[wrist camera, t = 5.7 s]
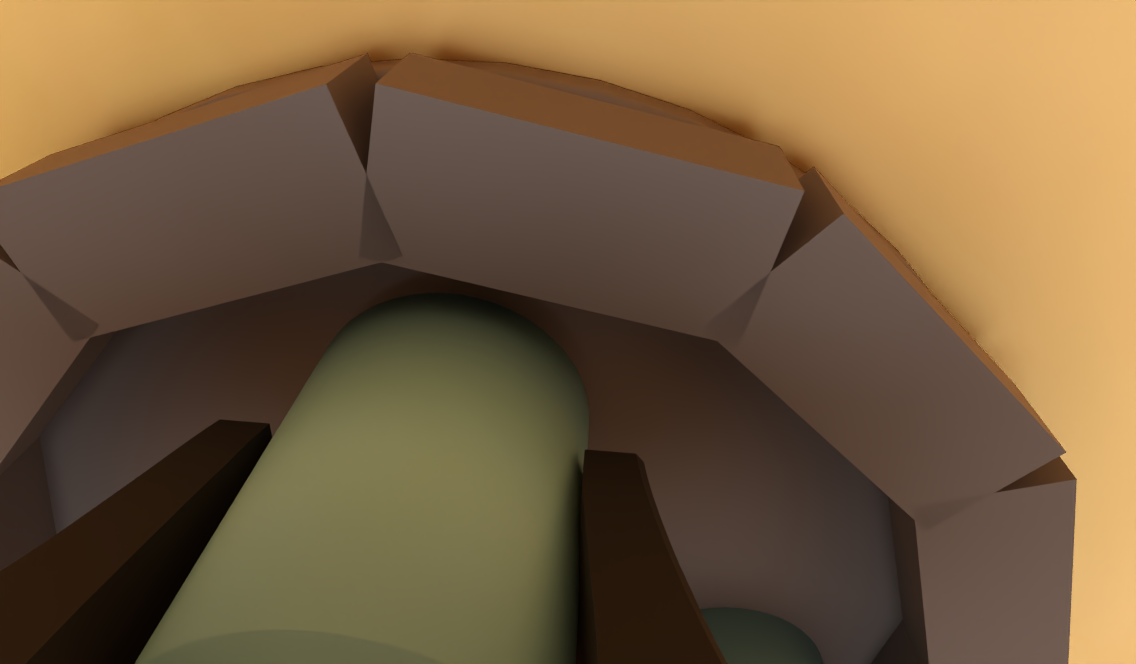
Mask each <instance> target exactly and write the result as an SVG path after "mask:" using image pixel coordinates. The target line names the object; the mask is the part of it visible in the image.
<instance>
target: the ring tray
mask: <svg viewBox="0 0 1136 664" xmlns="http://www.w3.org/2000/svg"><path fill="white" fill-rule="evenodd" d="M423 293H452V294H459V295H466V296H472V297H476V298H480V299H483V300H487V301H491V302H493V303H496V304H498V305H501V306H503V307H506V308H509V309H510V310H512V311H514V312H516V313H518V314H520V315H522V316H524V317H526V318H527V319H529V320H530V321H531V322H533V323H534V324H536V325H537V326H539V327H540V328H542V329H543V330H544V331H545V332H546V333H547V334H548V335H549V336H551V337H552V338H553V339H554V340H555V341H556V342H557V343H558V344H559V346H560V347H561V348H562V349H563V350H564V351H565V352H566V353H567V355H568V356H569V358H570V359H571V361H572V362H573V364H574V365H575V367H576V369H577V371H578V373H579V375H580V377H581V379H582V381H583V384H584V388H585V391H586V394H587V399H588V406H589V434H588V450H599V451H611V452H623V453H636V454H637V455H638V456H639V457H640V458H641V459H642V460H643V462H644V464H645V469H646V473H647V477H648V481H649V484H650V488H651V491H652V494H653V497H654V500H655V503H656V506H657V509H658V512H659V514H660V517H661V520H662V522H663V525H664V528H665V530H666V533H667V535H668V538H669V541H670V543H671V546H672V548H673V550H674V553H675V555H676V557H677V560H678V562H679V565H680V567H681V569H682V571H683V573H684V575H685V578H686V580H687V582H688V584H689V586H690V588H691V591H692V593H693V595H694V597H695V599H696V602H697V604H698V606H699V608H700V609H706V608H720V607H731V608H744V609H750V610H756V611H760V612H764V613H768V614H771V615H774V616H776V617H779V618H782V619H784V620H786V621H788V622H790V623H792V624H793V625H795V626H796V627H798V628H799V629H801V630H802V631H803V632H804V633H805V634H807V635H808V636H809V637H810V638H811V640H812V641H813V642H814V643H815V644H816V646H817V648H818V650H819V652H820V654H821V657H822V660H823V664H1068V657H1069V635H1070V613H1071V591H1072V569H1073V547H1074V525H1075V502H1076V480H1077V479H1076V478H1075V477H1074V475H1073V474H1072V473H1071V471H1070V470H1069V469H1068V467H1067V466H1066V464H1065V463H1064V462H1063V460H1062V459H1061V458H1060V456H1061V455H1062V454H1064V453H1066V451H1065V450H1064V449H1063V447H1062V446H1061V445H1060V443H1059V442H1058V441H1057V439H1056V438H1055V437H1054V436H1053V434H1052V433H1051V432H1050V430H1049V429H1048V428H1047V426H1046V425H1045V424H1044V422H1043V421H1042V420H1041V418H1040V417H1039V416H1038V414H1037V413H1036V412H1035V411H1034V409H1033V408H1032V407H1031V405H1030V404H1029V403H1028V401H1027V400H1026V399H1025V397H1024V396H1023V395H1022V393H1021V392H1020V391H1019V389H1018V388H1017V387H1016V386H1015V384H1014V383H1013V382H1012V381H1011V380H1010V379H1009V378H1008V376H1007V375H1006V374H1005V373H1004V372H1003V371H1002V370H1001V369H1000V368H999V367H998V366H997V365H996V363H995V362H994V361H993V360H992V359H991V358H990V357H989V356H988V355H987V354H986V353H985V352H984V350H983V349H982V348H981V347H980V346H979V345H978V344H977V343H976V342H975V341H974V340H973V339H972V337H971V336H970V335H969V334H968V333H967V332H966V331H965V330H964V329H963V328H962V327H961V326H960V324H959V323H958V322H957V321H956V320H955V319H954V318H953V317H952V316H951V315H950V314H949V313H948V311H947V310H946V309H945V308H944V307H943V306H942V305H941V304H940V303H939V302H938V301H937V300H936V298H935V297H934V296H933V295H932V294H931V292H930V291H929V290H928V289H927V287H926V286H925V285H924V283H923V282H922V281H921V280H920V278H919V277H918V276H917V274H916V273H915V272H914V271H913V269H912V268H911V267H910V265H909V264H908V263H907V262H906V260H905V259H904V258H903V257H902V255H901V254H900V253H899V251H898V250H897V249H896V248H895V247H894V246H892V245H891V244H890V243H889V242H888V241H887V240H886V239H885V238H884V237H883V236H882V235H881V234H880V233H878V232H877V231H876V230H875V229H874V228H873V227H872V226H871V225H870V224H869V223H868V222H867V221H865V220H864V219H863V218H862V217H861V216H860V215H859V214H858V213H857V212H856V211H855V210H854V209H853V208H852V207H851V206H850V205H849V204H848V203H847V202H846V201H845V200H844V199H843V198H842V197H841V196H840V194H839V193H838V192H837V191H836V190H835V189H834V188H833V187H832V186H831V185H830V184H829V183H828V181H827V180H826V179H825V178H824V177H823V176H822V175H821V174H820V173H819V172H818V171H817V170H816V168H815V167H812V168H811V169H810V170H809V171H808V172H806V173H804V172H803V171H801V170H800V169H798V168H797V167H795V166H794V165H792V164H791V163H789V162H788V161H787V159H786V157H785V155H784V154H783V152H782V150H781V148H780V147H779V146H775V145H772V144H768V143H764V142H760V141H756V140H752V139H748V138H746V137H744V136H742V135H740V134H738V133H736V132H734V131H732V130H730V129H728V128H725V127H723V126H721V125H719V124H717V123H715V122H713V121H711V120H709V119H707V118H705V117H703V116H701V115H699V114H697V113H695V112H693V111H691V110H689V109H685V108H682V107H679V106H676V105H673V104H670V103H667V102H664V101H661V100H658V99H655V98H652V97H649V96H646V95H643V94H640V93H637V92H634V91H631V90H628V89H625V88H622V87H619V86H616V85H613V84H610V83H607V82H604V81H601V80H595V79H590V78H585V77H579V76H574V75H569V74H563V73H558V72H553V71H547V70H542V69H536V68H531V67H526V66H520V65H515V64H510V63H498V62H478V61H458V60H438V59H434V58H430V57H426V56H422V55H418V54H414V53H409V54H408V55H407V56H406V57H405V58H404V59H398V60H386V61H375V62H371V60H370V58H369V55H368V53H367V54H364V55H361V56H358V57H354V58H351V59H348V60H345V61H342V62H339V63H336V64H333V65H329V66H320V67H316V68H312V69H308V70H303V71H299V72H295V73H291V74H287V75H283V76H278V77H274V78H270V79H266V80H262V81H257V82H253V83H249V84H245V85H241V86H237V87H234V88H231V89H229V90H227V91H224V92H222V93H219V94H217V95H214V96H212V97H210V98H207V99H205V100H202V101H200V102H197V103H195V104H193V105H190V106H188V107H185V108H183V109H180V110H178V111H176V112H173V113H171V114H168V115H166V116H163V117H161V118H159V119H157V120H156V121H154V122H151V123H148V124H145V125H142V126H139V127H135V128H132V129H129V130H126V131H123V132H120V133H117V134H114V135H110V136H107V137H104V138H101V139H98V140H95V141H92V142H89V143H85V144H82V145H79V146H76V147H73V148H70V149H67V150H64V151H60V152H57V153H54V154H51V155H49V156H47V157H45V158H43V159H41V160H39V161H37V162H35V163H33V164H31V165H29V166H27V167H25V168H23V169H21V170H19V171H17V172H15V173H13V174H11V175H9V176H7V177H5V178H3V179H1V180H0V571H1V570H3V569H4V568H6V567H7V566H9V565H10V564H12V563H14V562H15V561H17V560H18V559H20V558H21V557H23V556H24V555H26V554H27V553H29V552H30V551H32V550H33V549H35V548H37V547H38V546H40V545H41V544H43V543H44V542H46V541H47V540H49V539H50V538H52V537H53V536H55V535H56V534H58V533H59V532H60V531H62V530H63V529H65V528H66V527H68V526H69V525H70V524H72V523H73V522H75V521H76V520H77V519H79V518H80V517H82V516H83V515H85V514H86V513H87V512H89V511H90V510H92V509H93V508H95V507H96V506H97V505H99V504H100V503H102V502H103V501H104V500H106V499H107V498H109V497H110V496H112V495H113V494H114V493H116V492H117V491H119V490H120V489H122V488H123V487H124V486H126V485H127V484H129V483H130V482H131V481H133V480H134V479H136V478H137V477H138V476H140V475H141V474H142V473H144V472H145V471H147V470H148V469H149V468H151V467H152V466H154V465H155V464H156V463H158V462H159V461H161V460H162V459H163V458H165V457H166V456H167V455H169V454H170V453H172V452H173V451H174V450H176V449H177V448H179V447H180V446H181V445H183V444H184V443H186V442H187V441H189V440H190V439H191V438H193V437H194V436H196V435H197V434H199V433H200V432H201V431H203V430H204V429H206V428H207V427H209V426H210V425H212V424H213V423H215V422H216V421H218V420H220V419H223V420H235V421H247V422H259V423H270V428H271V433H272V437H273V436H274V434H275V433H276V431H277V429H278V428H279V426H280V424H281V423H282V421H283V419H284V418H285V416H286V415H287V413H288V411H289V410H290V408H291V406H292V405H293V403H294V401H295V400H296V398H297V396H298V395H299V393H300V392H301V390H302V388H303V387H304V385H305V383H306V382H307V380H308V378H309V377H310V375H311V374H312V372H313V370H314V369H315V367H316V365H317V364H318V362H319V360H320V359H321V357H322V356H323V354H324V352H325V351H326V349H327V347H328V346H329V344H330V343H331V341H332V340H333V339H334V337H335V336H336V335H337V333H338V332H339V331H340V330H341V329H342V328H343V327H344V326H345V325H346V324H347V323H348V322H349V321H351V320H352V319H354V318H355V317H356V316H358V315H359V314H360V313H362V312H364V311H365V310H367V309H369V308H371V307H373V306H375V305H377V304H380V303H383V302H385V301H388V300H391V299H394V298H398V297H403V296H407V295H412V294H423Z"/></svg>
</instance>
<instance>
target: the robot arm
mask: <svg viewBox="0 0 1136 664" xmlns="http://www.w3.org/2000/svg"><path fill="white" fill-rule="evenodd" d="M271 439H272V433H271V428H270V423H259V422H247V421H235V420H223V419H220V420H218V421H216V422H215V423H213V424H212V425H210V426H209V427H207V428H206V429H204V430H203V431H201V432H200V433H199V434H197V435H196V436H194V437H193V438H191V439H190V440H189V441H187V442H186V443H184V444H183V445H181V446H180V447H179V448H177V449H176V450H174V451H173V452H172V453H170V454H169V455H167V456H166V457H165V458H163V459H162V460H161V461H159V462H158V463H156V464H155V465H154V466H152V467H151V468H149V469H148V470H147V471H145V472H144V473H142V474H141V475H140V476H138V477H137V478H136V479H134V480H133V481H131V482H130V483H129V484H127V485H126V486H124V487H123V488H122V489H120V490H119V491H117V492H116V493H114V494H113V495H112V496H110V497H109V498H107V499H106V500H104V501H103V502H102V503H100V504H99V505H97V506H96V507H95V508H93V509H92V510H90V511H89V512H87V513H86V514H85V515H83V516H82V517H80V518H79V519H77V520H76V521H75V522H73V523H72V524H70V525H69V526H68V527H66V528H65V529H63V530H62V531H60V532H59V533H58V534H56V535H55V536H53V537H52V538H50V539H49V540H47V541H46V542H44V543H43V544H41V545H40V546H38V547H37V548H35V549H33V550H32V551H30V552H29V553H27V554H26V555H24V556H23V557H21V558H20V559H18V560H17V561H15V562H14V563H12V564H10V565H9V566H7V567H6V568H4V569H3V570H1V571H0V664H135V662H136V660H137V659H138V657H139V655H140V654H141V652H142V651H143V649H144V647H145V646H146V644H147V642H148V641H149V639H150V637H151V636H152V634H153V632H154V631H155V629H156V628H157V626H158V624H159V623H160V621H161V619H162V618H163V616H164V614H165V613H166V611H167V610H168V608H169V606H170V605H171V603H172V601H173V600H174V598H175V596H176V595H177V593H178V592H179V590H180V588H181V587H182V585H183V583H184V582H185V580H186V578H187V577H188V575H189V574H190V572H191V570H192V569H193V567H194V565H195V564H196V562H197V560H198V559H199V557H200V555H201V554H202V552H203V551H204V549H205V547H206V546H207V544H208V542H209V541H210V539H211V537H212V536H213V534H214V533H215V531H216V529H217V528H218V526H219V524H220V523H221V521H222V519H223V518H224V516H225V514H226V513H227V511H228V510H229V508H230V506H231V505H232V503H233V501H234V500H235V498H236V496H237V495H238V493H239V492H240V490H241V488H242V487H243V485H244V483H245V482H246V480H247V478H248V477H249V475H250V474H251V472H252V470H253V469H254V467H255V465H256V464H257V462H258V460H259V459H260V457H261V455H262V454H263V452H264V451H265V449H266V447H267V446H268V444H269V442H270V441H271ZM576 664H728V663H727V661H726V659H725V658H724V656H723V654H722V652H721V650H720V648H719V646H718V644H717V643H716V641H715V639H714V637H713V635H712V633H711V631H710V629H709V627H708V625H707V623H706V621H705V619H704V617H703V615H702V612H701V610H700V608H699V606H698V604H697V602H696V599H695V597H694V595H693V593H692V591H691V588H690V586H689V584H688V582H687V580H686V578H685V575H684V573H683V571H682V569H681V567H680V565H679V562H678V560H677V557H676V555H675V553H674V550H673V548H672V546H671V543H670V541H669V538H668V535H667V533H666V530H665V528H664V525H663V522H662V520H661V517H660V514H659V512H658V509H657V506H656V503H655V500H654V497H653V494H652V491H651V488H650V484H649V481H648V477H647V473H646V469H645V464H644V462H643V460H642V459H641V458H640V457H639V456H638V455H637V454H636V453H623V452H611V451H599V450H587V449H585V452H584V463H583V475H582V491H581V507H580V523H579V609H578V630H577V648H576Z"/></svg>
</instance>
